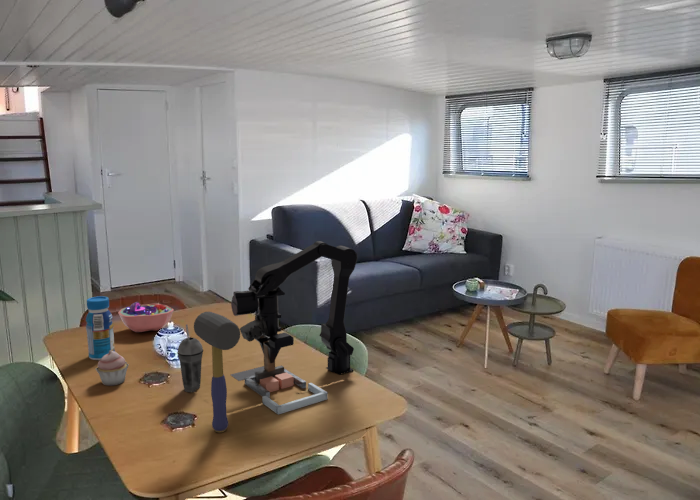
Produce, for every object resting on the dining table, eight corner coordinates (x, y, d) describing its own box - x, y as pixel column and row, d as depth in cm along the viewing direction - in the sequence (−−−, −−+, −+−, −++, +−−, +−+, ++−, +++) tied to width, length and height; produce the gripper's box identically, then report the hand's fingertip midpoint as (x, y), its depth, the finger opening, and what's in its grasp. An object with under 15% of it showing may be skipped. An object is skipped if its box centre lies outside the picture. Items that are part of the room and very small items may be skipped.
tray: (311, 388, 173) (311, 382, 172) (327, 399, 166) (327, 392, 166) (262, 403, 163) (262, 396, 163) (278, 414, 157) (277, 407, 156)
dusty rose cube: (272, 387, 174) (271, 376, 173) (278, 392, 171) (278, 380, 170) (259, 390, 172) (259, 379, 171) (266, 395, 169) (266, 384, 168)
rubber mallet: (195, 425, 150) (190, 312, 145) (222, 417, 155) (218, 307, 149) (218, 445, 141) (213, 324, 135) (246, 435, 146) (242, 318, 140)
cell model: (166, 338, 216) (164, 308, 214) (111, 337, 216) (109, 308, 214) (179, 324, 233) (178, 296, 230) (129, 323, 233) (127, 295, 231)
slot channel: (283, 375, 183) (283, 367, 182) (306, 389, 172) (306, 381, 172) (244, 385, 175) (244, 377, 174) (266, 401, 164) (265, 392, 164)
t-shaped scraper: (280, 372, 179) (280, 338, 177) (285, 375, 177) (284, 340, 175) (254, 379, 174) (253, 344, 172) (258, 382, 172) (257, 346, 170)
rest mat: (270, 366, 190) (270, 364, 190) (279, 372, 185) (279, 370, 185) (230, 376, 182) (230, 374, 181) (238, 382, 177) (238, 380, 177)
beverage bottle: (82, 358, 195) (77, 300, 192) (101, 350, 203) (97, 294, 199) (102, 362, 192) (97, 303, 189) (121, 353, 200) (117, 296, 196)
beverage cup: (209, 385, 174) (207, 321, 171) (195, 395, 168) (192, 328, 164) (188, 382, 177) (185, 318, 173) (174, 392, 170) (170, 325, 166)
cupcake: (96, 378, 180) (94, 347, 178) (129, 374, 183) (127, 343, 181) (96, 390, 171) (93, 357, 169) (130, 385, 175) (128, 353, 173)
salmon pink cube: (286, 383, 177) (286, 372, 176) (293, 387, 174) (293, 376, 173) (275, 386, 175) (274, 375, 174) (281, 391, 171) (281, 379, 171)
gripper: (228, 308, 174) (230, 358, 177) (259, 323, 160) (260, 378, 163) (262, 302, 181) (263, 350, 184) (294, 316, 166) (295, 368, 169)
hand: (269, 361), depth 175 cm, fingers closed on t-shaped scraper, 2 cm apart
